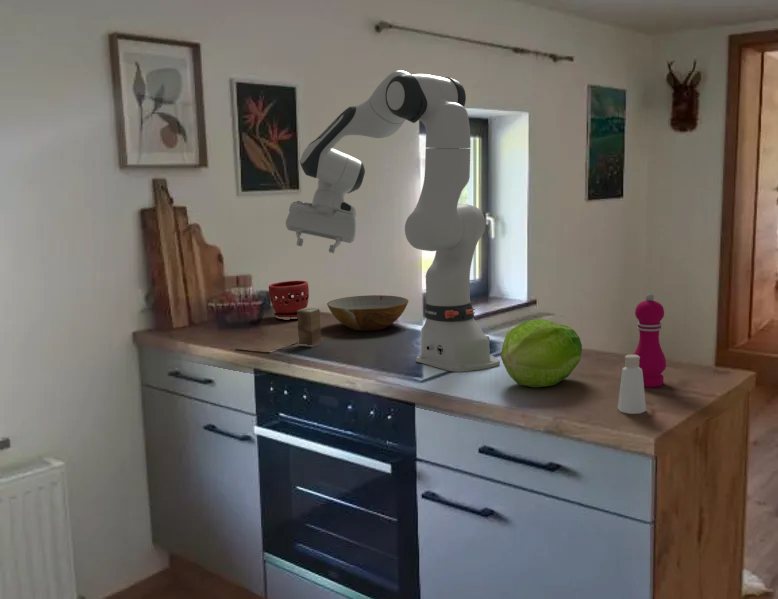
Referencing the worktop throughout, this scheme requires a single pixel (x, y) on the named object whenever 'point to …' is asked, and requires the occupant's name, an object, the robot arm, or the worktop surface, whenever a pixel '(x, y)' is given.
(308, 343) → the block
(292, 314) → the plant pot
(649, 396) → the worktop surface
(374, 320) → the bowl
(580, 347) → the lettuce
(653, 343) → the pepper mill
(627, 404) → the pepper shaker
